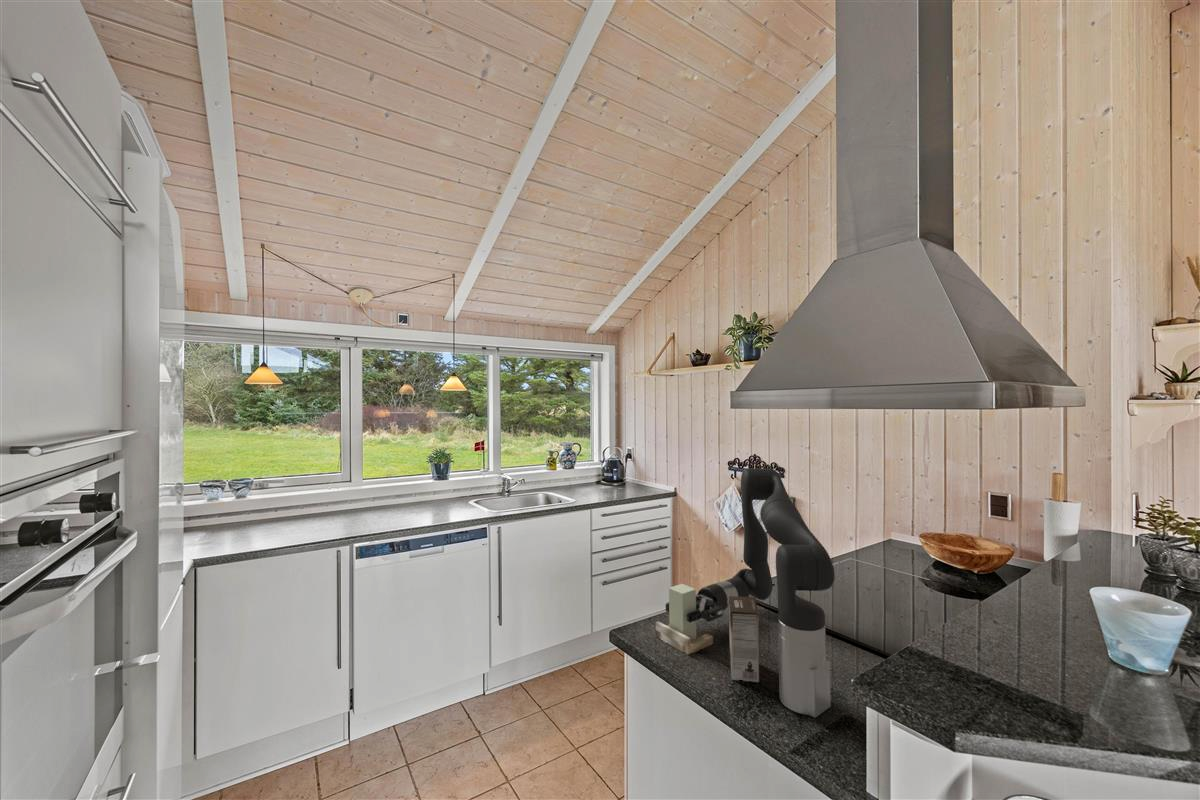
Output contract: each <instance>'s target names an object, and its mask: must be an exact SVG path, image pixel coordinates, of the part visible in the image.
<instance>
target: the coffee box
mask: <svg viewBox="0 0 1200 800" xmlns="http://www.w3.org/2000/svg"><path fill="white" fill-rule="evenodd" d="M758 609H759V608H758V604H757V598H755V597H753V596H748V597H736V596H729V609H728V619H729V620H728V621H729V624H728V625H729V626H728V627H729V628H728V629H729V631H728V632H729V634H728V636H729V661H730V673H731V674H730V675H731V680H733V681H739V680H743V681H742V682H750V681H751V682H753V683H760V650H759V648H760V646H759V645H760V643H759V642H760V638H759V636H760V635H759V634H760V633H759V632H760V629H759V627H760V626H759V625H760V624H759V622H760V621H759V619H760V618H759V616H760V615H759V610H758ZM751 682H750V683H751Z"/></svg>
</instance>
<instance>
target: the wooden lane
mask: <svg viewBox="0 0 1200 800" xmlns="http://www.w3.org/2000/svg"><path fill="white" fill-rule="evenodd" d="M655 637H656V638H657V639H659V640H660V639H661V641H662V640H663V641H662V642H664V643H666V644H667V643H668V644H667V645H670V646H671V647H672V648H674V649H677V650H678V651H680V652H682V653H683V652H684V654H685V655H688V656H690V655H692V654H694V653H697V652H699V651H701V650H703V649H705V648H706V647H707V648H708V647H709V646H712V645H713V644H714V636H713V635H711V634H709V633H705V634H702V635H700V636H698V637H696V638H695V639H693V640H691V638H689V637H687V636H686V635H684V634H682V633H680V632H678V631H676V630H674V629H672V628H670V627H669V624H667V625H666V624H664V623H663V622H660V621H659V620H658V621H655ZM700 649H701V650H700ZM698 650H699V651H698ZM691 653H692V654H691ZM689 654H690V655H689Z"/></svg>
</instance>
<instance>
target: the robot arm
mask: <svg viewBox="0 0 1200 800" xmlns="http://www.w3.org/2000/svg"><path fill="white" fill-rule="evenodd" d="M740 476H741V477H740V498H741V513H742V523H743V554H742V555H743V557H742V559H743V563H744V564H745V565H746V566H747V567H748V568H742V569H740V570H738V572H737V573H736V574H735V575H733V576H732V577H731V578H728V579H726V580H723V581H716V582H715V583H711V584H709V585H707V586H703V587H701V588H700V589H699V591H698V592H697V593H696V610H695V611H692V612H690V613H688V614H687V621H688V622H693V621H696V622H697V621H699V620H700V621H703V620H705V622H707V623H709V622H712V621H715V620H717V619H719V618H721V617H723V612H725V611H727V610H729V596H736V597H755V599H756V600H757V599H758V600H760V601H765V600H767V599H768V598H770V596H771V594H772V592H773V579H772V575H771V574H772V573H771V569H770V566H769V565H770V564H769V561H768V559H769V538H768V536H770V538H771V539H773V540H774V541H775V542H777V543H778V544H780V545H779V546H778V548H777V550H776V553H775V573H776V586H777V587H776V588H777V589H776V590H777V612H778V614H777V616H778V617H777V618H778V683H779V684H778V688H779V690H778V691H779V692H778V693H779V700H780V702H781V704H782V705H784V706H785V707H786V708H787V709H789V710H791V711H792V712H795V713H797V714H801V715H807V716H810V717H813V718H817V717H819V716H820V715H821V714H822V713H824V712H825V711H826V710H828V709H830V708H831V662H830V661H829V660H827V659H826V658H827V657H826V655H827V654H826V614H825V612H824V611H825V610H823V608H822V607H821V606H819V605H818V604H817V603H815V602H812V601H810V600H807V599H804V598H802V597H800V596H799V595H797V591H800V592H801V591H805V592H806V591H808V592H811V591H812V592H820V591H826V590H829V589H830V588H831V587H832V586H833V584H834V583H835V577H836V576H835V573H836V572H835V568H834V564H833V561H832V558H831V557H830V555H829V552H828V551H827V549H826V548H825V547H824V545H823V544H822V543H821V542H820V541H819V540H818V538H817V537H816V536H815V535H814V533H812V531H811V530H810V529H809V527H808V525H807V524H806V523H805V521H804V519H803V517H802V515H801V513H800V511H799V510H798V508H797V507H796V505H795V504H794V503H793V500H792V499H791V497H790V496H789V494H788V492H787V490H786V487H785V485H784V482H783V479H782V477H781V475H780V473H778V471H777V470H776V469H772V468H760V467H759V468H758V467H757V468H755V467H753V468H752V467H751V468H744V469H743V470H742V473H741V475H740ZM753 501H764V503H763V504H762V506H761V508H760V514H759V515H760V519H761V522H762V524H763V525H762V524H761V522H760V520H759V519H758V517H757V514H756V513H755V510H754V503H753ZM763 526H764V527H763ZM665 611H666V612H667V613H669V601H668V602H666V603H665Z"/></svg>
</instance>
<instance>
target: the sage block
mask: <svg viewBox="0 0 1200 800" xmlns="http://www.w3.org/2000/svg"><path fill="white" fill-rule="evenodd" d="M696 591H697V589H696V588H693V587H691V586H688V585H686V584H684V583H680V584H676V585H673V586H671V587H669V588H668V602H669V612H668V613H669V614H668V615H669V617H668V621H669V622H668V623H669V624H668V625H669V627H670V628H672V629H674V630H676V631H678V632H680V633H682V634H684V635H686V636H687V637H689V638H691V640H693V639H695V638H697V620H696V621H693V622H688V621H687V614H688V613H690V612H692V611H695V610H696V595H697V592H696Z"/></svg>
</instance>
